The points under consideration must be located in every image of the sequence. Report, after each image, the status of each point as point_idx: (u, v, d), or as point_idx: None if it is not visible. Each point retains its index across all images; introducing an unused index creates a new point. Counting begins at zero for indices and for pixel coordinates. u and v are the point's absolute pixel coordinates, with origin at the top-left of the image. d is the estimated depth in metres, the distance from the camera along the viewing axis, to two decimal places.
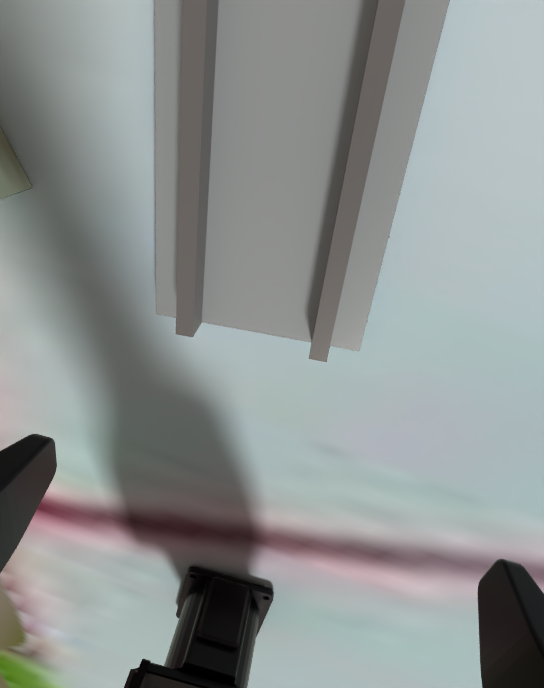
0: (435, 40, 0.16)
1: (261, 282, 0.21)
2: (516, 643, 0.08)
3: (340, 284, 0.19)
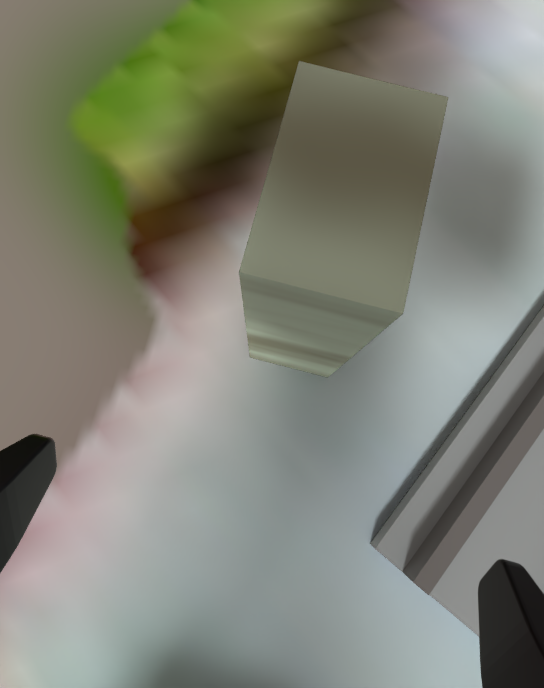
0: None
1: None
2: (516, 643, 0.08)
3: None
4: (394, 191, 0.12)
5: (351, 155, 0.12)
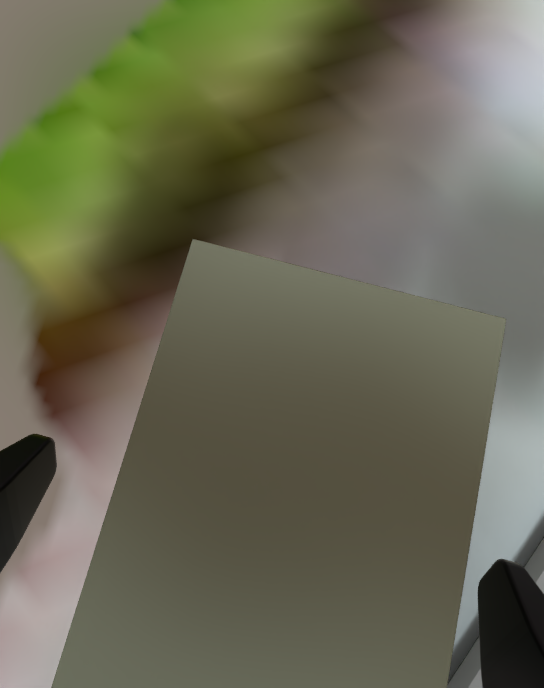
0: None
1: None
2: (516, 643, 0.08)
3: None
4: (390, 553, 0.05)
5: (297, 462, 0.05)
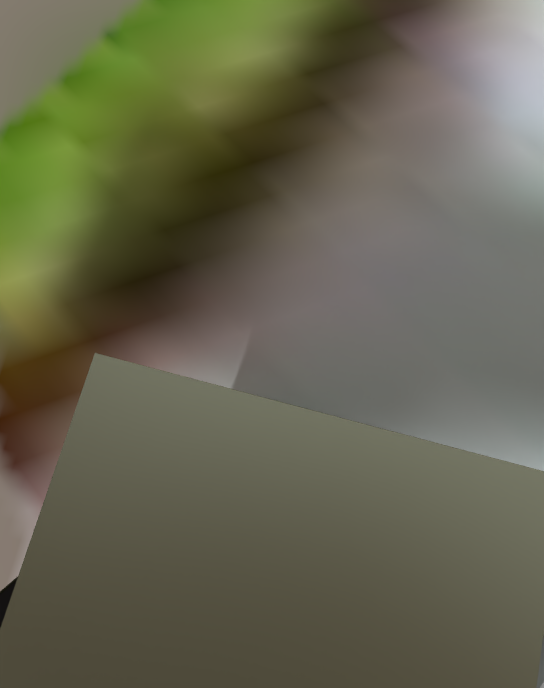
0: None
1: None
2: None
3: None
4: None
5: None
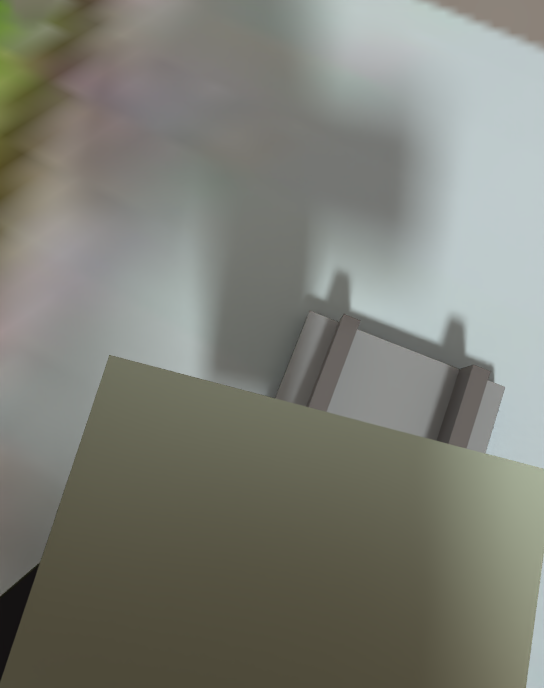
0: None
1: None
2: None
3: None
4: None
5: None
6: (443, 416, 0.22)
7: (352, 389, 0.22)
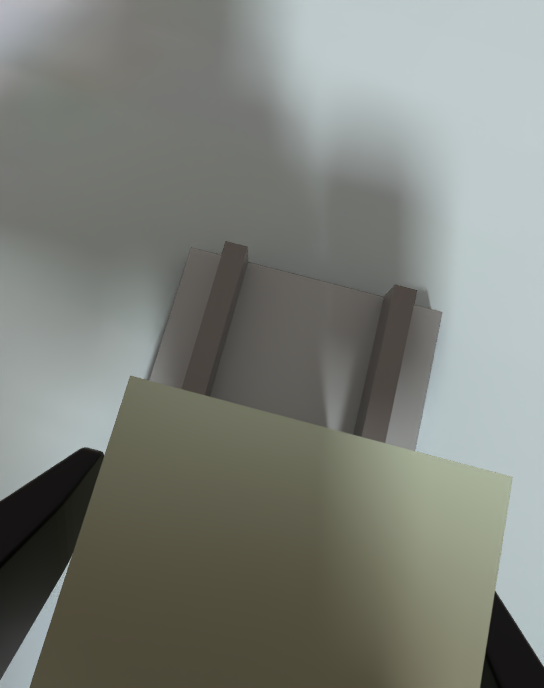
0: None
1: None
2: None
3: None
4: None
5: (251, 669, 0.04)
6: (369, 357, 0.18)
7: (252, 337, 0.18)
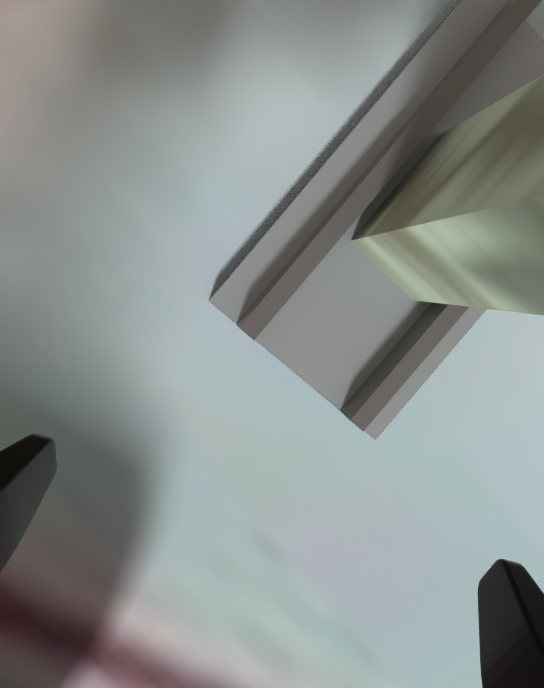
0: None
1: (333, 328, 0.21)
2: (516, 643, 0.08)
3: (418, 362, 0.20)
4: None
5: None
6: None
7: (492, 82, 0.20)
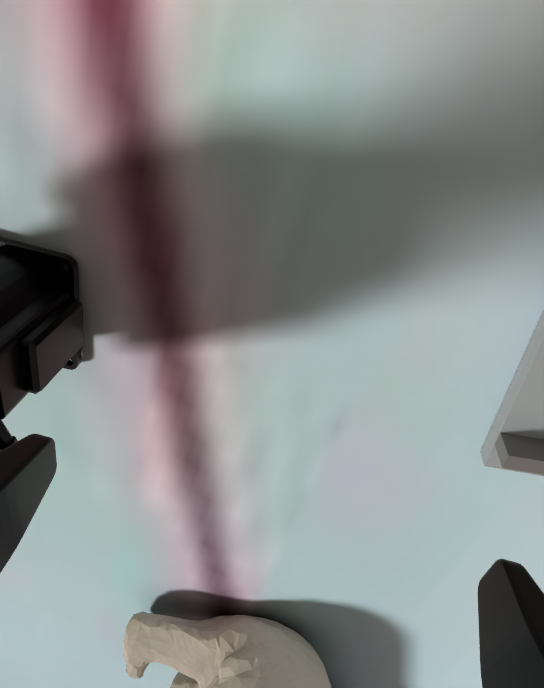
0: None
1: None
2: (516, 643, 0.08)
3: None
4: None
5: None
6: None
7: None
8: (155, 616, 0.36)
